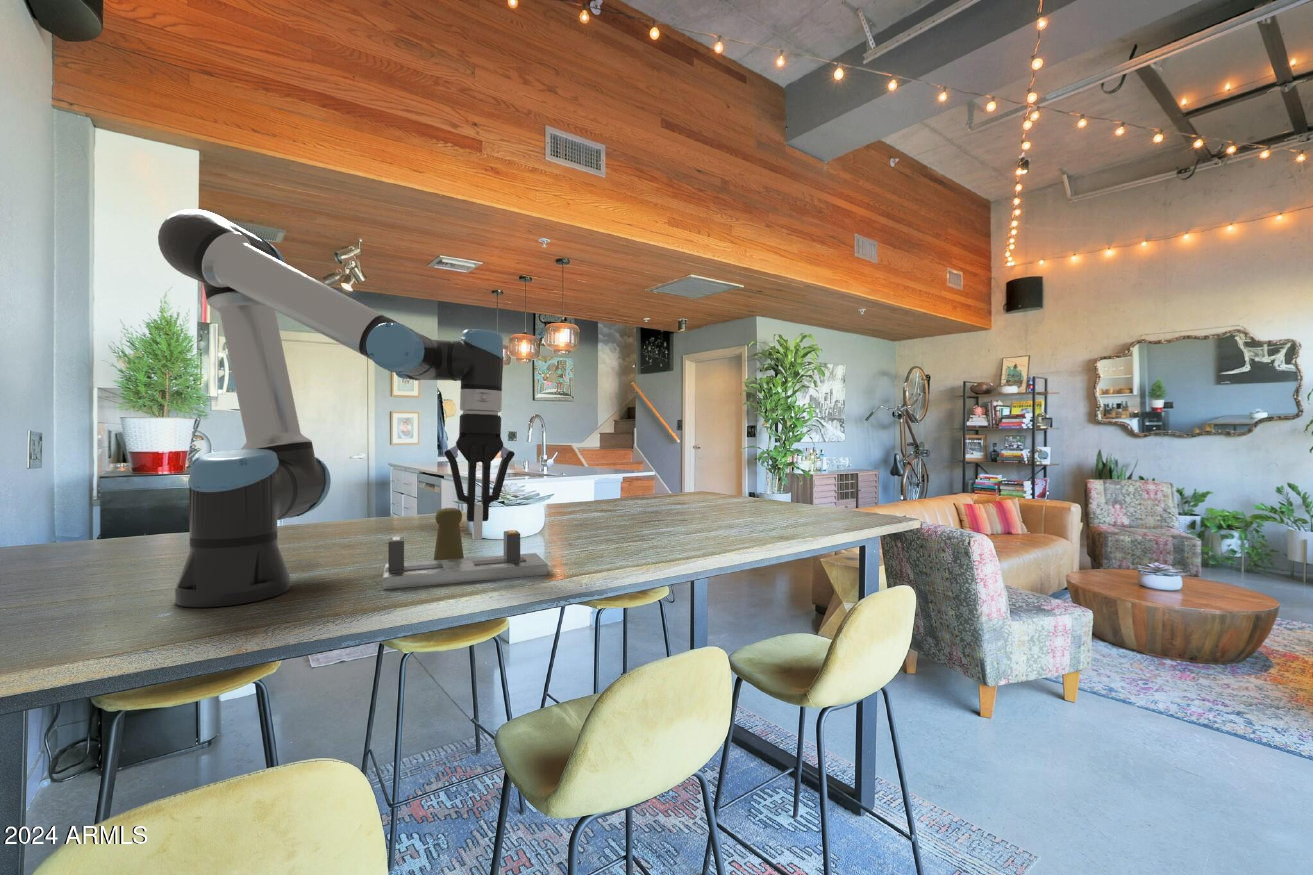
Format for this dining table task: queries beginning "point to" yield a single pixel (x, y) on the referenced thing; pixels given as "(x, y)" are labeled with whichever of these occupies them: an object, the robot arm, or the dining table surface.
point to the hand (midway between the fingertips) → (477, 538)
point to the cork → (448, 535)
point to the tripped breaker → (511, 545)
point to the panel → (463, 571)
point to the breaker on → (396, 553)
